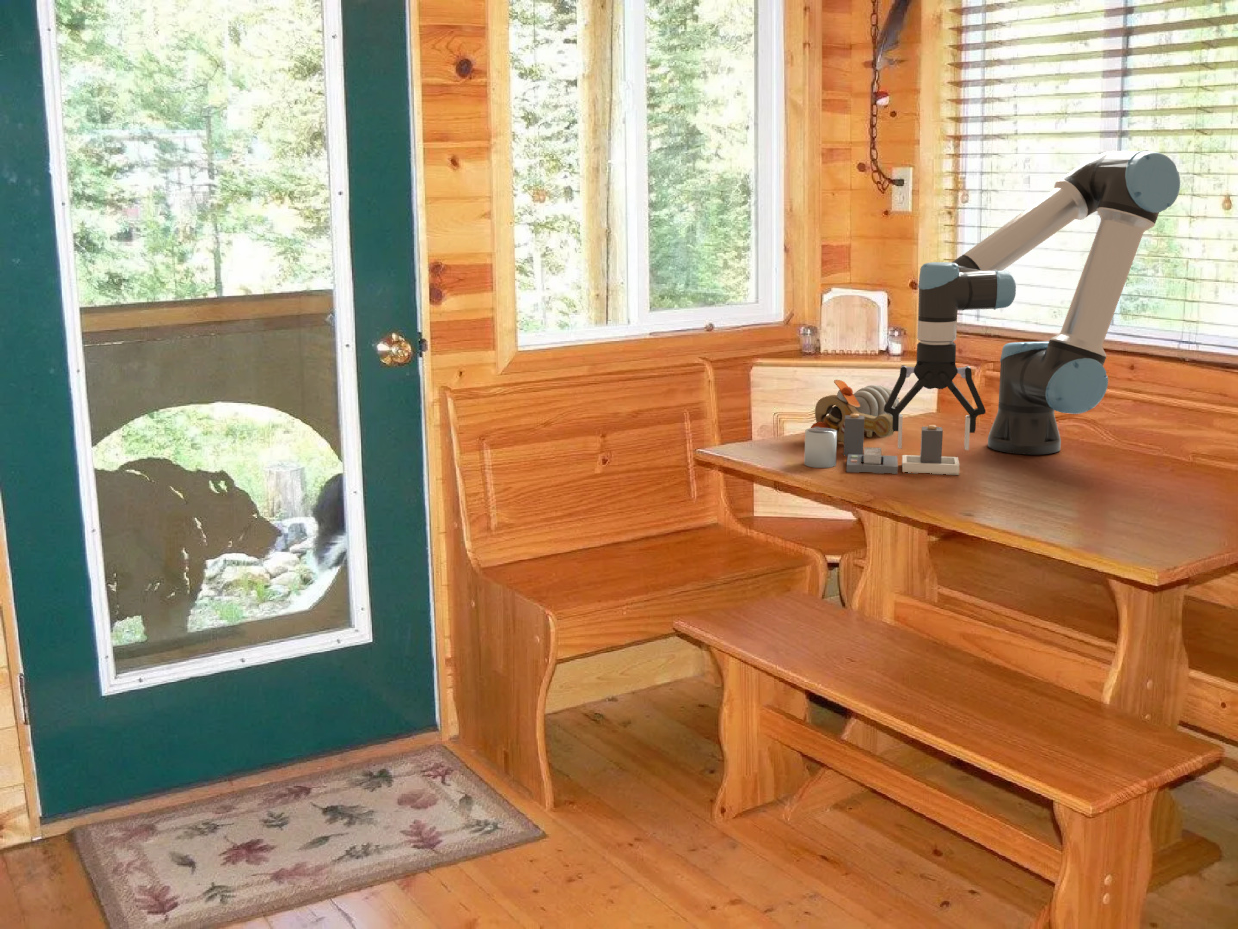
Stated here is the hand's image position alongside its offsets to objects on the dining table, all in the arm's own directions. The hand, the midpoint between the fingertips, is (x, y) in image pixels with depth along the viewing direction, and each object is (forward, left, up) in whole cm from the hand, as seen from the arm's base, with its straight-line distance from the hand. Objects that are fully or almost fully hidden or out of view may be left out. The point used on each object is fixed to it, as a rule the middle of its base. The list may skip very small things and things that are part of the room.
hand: (932, 448), depth 283 cm
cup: (+22, -1, -4) cm, 23 cm away
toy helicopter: (+17, -20, -5) cm, 27 cm away
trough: (0, 0, -4) cm, 4 cm away
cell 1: (+16, -12, -5) cm, 20 cm away
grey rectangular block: (+12, 0, -3) cm, 12 cm away
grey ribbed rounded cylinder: (+12, -35, -5) cm, 37 cm away
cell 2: (0, 0, -4) cm, 4 cm away
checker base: (+12, 0, -4) cm, 13 cm away
